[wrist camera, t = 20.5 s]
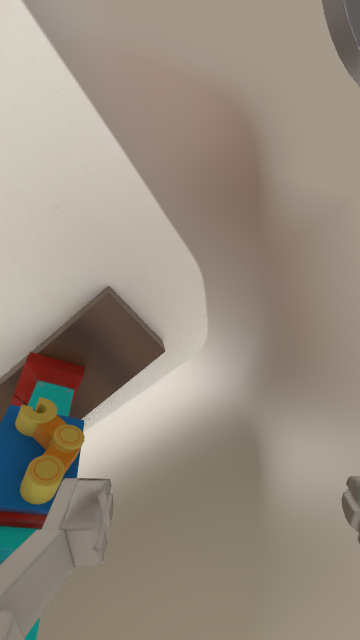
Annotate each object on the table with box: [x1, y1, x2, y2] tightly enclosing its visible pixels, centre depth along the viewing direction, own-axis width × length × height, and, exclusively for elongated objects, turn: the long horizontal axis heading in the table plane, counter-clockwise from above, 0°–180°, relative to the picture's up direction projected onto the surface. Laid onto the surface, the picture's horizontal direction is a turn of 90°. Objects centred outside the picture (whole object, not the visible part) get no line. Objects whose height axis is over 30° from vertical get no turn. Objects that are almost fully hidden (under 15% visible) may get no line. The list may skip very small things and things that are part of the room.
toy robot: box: [0, 352, 85, 640], centre depth 19 cm, size 12×6×25 cm, turn 154°
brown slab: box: [0, 287, 165, 423], centre depth 32 cm, size 24×9×2 cm, turn 128°
